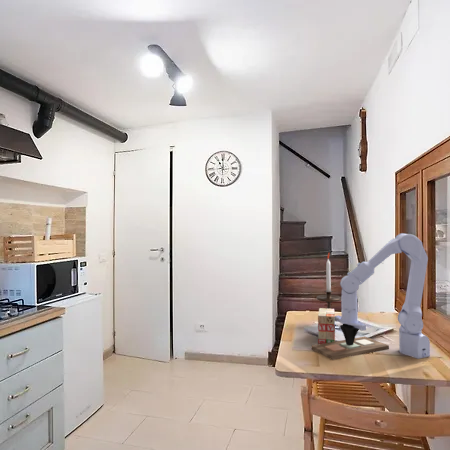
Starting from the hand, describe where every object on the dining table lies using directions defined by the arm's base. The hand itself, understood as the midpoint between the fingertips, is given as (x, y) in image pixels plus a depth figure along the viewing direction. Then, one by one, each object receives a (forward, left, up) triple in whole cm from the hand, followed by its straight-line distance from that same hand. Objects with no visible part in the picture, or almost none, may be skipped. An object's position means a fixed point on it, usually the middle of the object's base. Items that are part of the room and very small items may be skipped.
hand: (349, 344), depth 136 cm
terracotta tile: (0, +7, -2) cm, 7 cm away
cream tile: (0, -7, -2) cm, 7 cm away
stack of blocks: (+15, -2, -3) cm, 16 cm away
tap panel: (0, 0, -3) cm, 3 cm away
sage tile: (0, 0, -2) cm, 2 cm away
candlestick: (+28, -13, -3) cm, 31 cm away
